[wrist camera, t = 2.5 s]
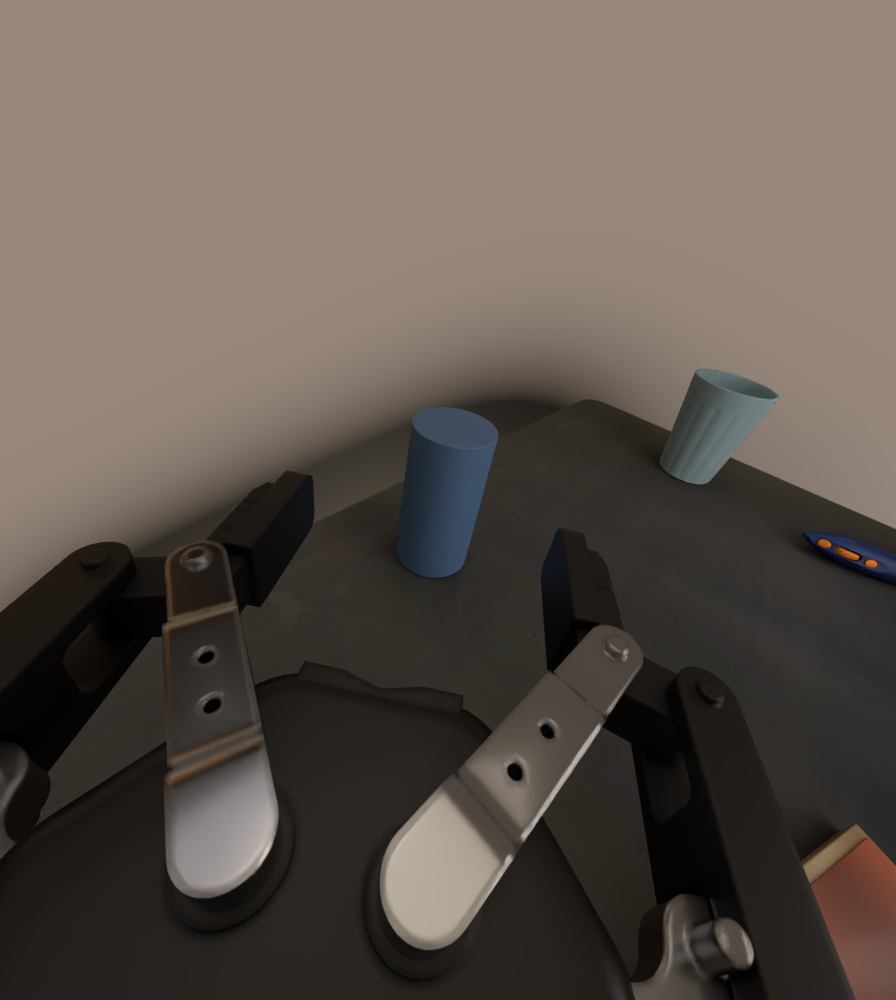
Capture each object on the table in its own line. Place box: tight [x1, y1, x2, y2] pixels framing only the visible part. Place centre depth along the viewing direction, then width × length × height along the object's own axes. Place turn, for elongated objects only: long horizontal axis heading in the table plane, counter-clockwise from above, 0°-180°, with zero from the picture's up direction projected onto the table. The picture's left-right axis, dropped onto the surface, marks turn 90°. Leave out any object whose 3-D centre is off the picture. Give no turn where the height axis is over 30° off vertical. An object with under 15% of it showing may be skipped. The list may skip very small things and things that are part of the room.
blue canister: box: [396, 407, 498, 578], centre depth 27 cm, size 5×5×10 cm
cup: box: [660, 369, 779, 484], centre depth 44 cm, size 8×8×10 cm
